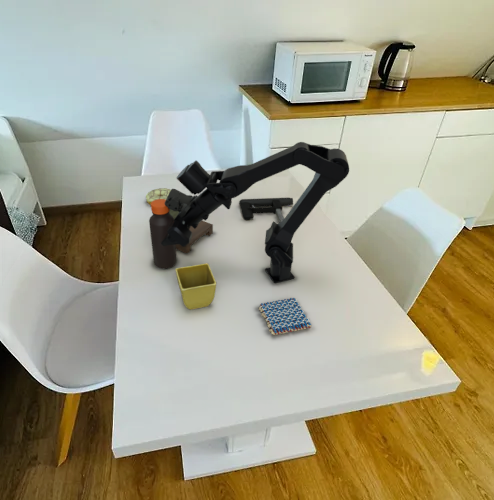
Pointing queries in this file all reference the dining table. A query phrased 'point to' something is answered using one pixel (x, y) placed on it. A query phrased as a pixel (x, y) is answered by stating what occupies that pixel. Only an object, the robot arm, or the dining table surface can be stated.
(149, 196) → the yellow flat round disc
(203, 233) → the brown wooden stand
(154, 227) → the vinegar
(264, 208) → the black toy gun
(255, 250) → the dining table surface
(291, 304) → the woven mat
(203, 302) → the flower pot
